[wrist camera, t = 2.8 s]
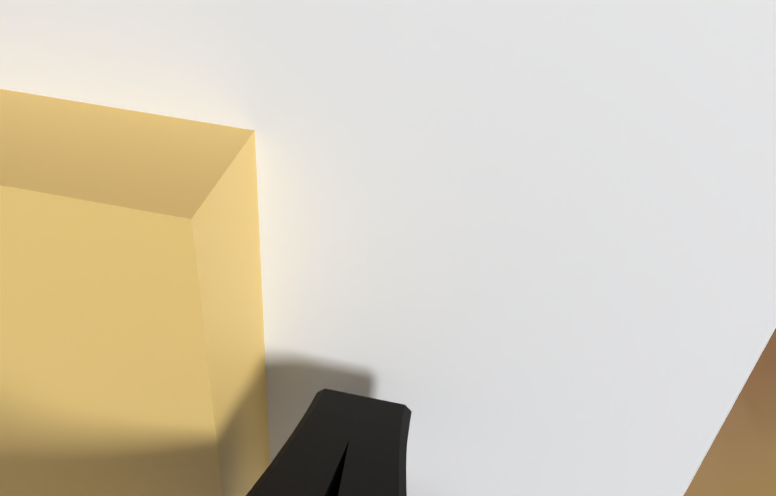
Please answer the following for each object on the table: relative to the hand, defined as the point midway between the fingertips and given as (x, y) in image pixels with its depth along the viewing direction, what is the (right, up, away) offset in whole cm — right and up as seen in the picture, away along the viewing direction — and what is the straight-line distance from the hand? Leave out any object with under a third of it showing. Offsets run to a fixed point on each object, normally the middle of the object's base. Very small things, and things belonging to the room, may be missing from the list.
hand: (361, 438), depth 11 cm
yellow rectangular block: (-5, +1, +1) cm, 5 cm away
